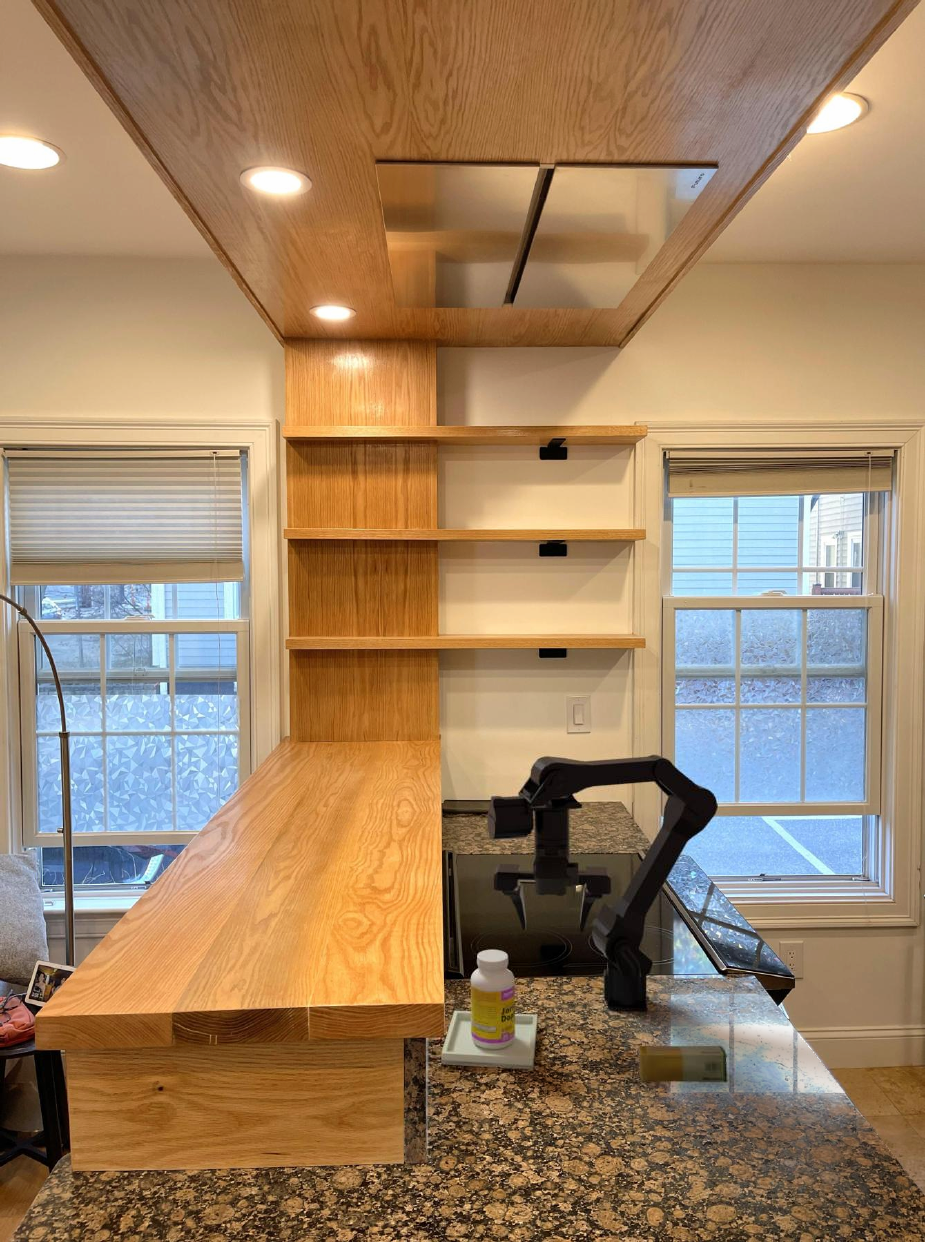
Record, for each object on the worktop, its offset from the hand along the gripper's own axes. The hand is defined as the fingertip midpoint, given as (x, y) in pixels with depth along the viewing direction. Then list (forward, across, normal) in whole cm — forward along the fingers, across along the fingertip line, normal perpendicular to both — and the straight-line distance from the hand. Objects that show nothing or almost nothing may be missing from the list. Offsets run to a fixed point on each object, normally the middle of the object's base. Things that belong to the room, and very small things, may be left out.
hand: (552, 930), depth 141 cm
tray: (+13, -9, -12) cm, 20 cm away
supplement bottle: (+13, -9, -12) cm, 19 cm away
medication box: (+14, +18, -18) cm, 29 cm away
